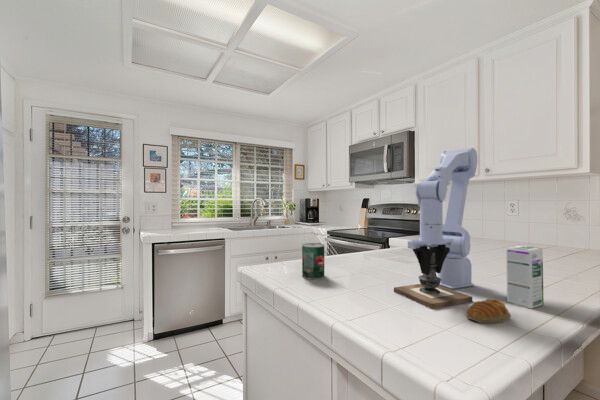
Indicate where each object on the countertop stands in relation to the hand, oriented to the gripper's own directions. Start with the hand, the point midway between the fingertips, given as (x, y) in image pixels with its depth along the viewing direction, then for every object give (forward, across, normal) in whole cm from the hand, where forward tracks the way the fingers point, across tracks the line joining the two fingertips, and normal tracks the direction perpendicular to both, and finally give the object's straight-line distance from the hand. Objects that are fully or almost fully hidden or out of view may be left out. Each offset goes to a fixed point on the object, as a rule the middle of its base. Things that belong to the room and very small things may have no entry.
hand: (431, 273), depth 80 cm
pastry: (+7, -1, +16) cm, 17 cm away
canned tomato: (+7, +22, -31) cm, 39 cm away
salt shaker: (+5, 0, 0) cm, 5 cm away
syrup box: (+7, -18, +13) cm, 23 cm away
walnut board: (+6, 0, 0) cm, 6 cm away
